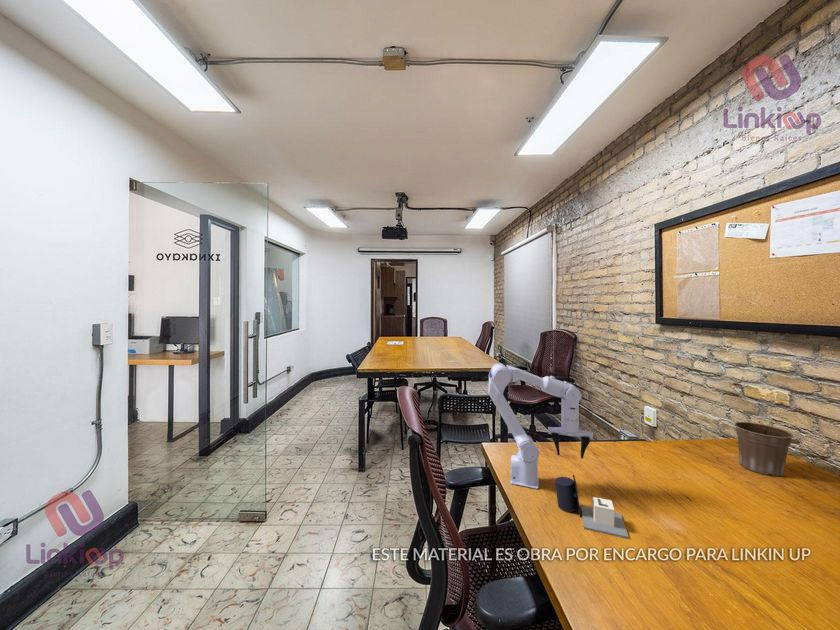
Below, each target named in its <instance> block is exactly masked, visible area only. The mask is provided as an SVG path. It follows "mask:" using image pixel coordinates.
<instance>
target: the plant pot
mask: <svg viewBox="0 0 840 630" xmlns="http://www.w3.org/2000/svg"><path fill="white" fill-rule="evenodd" d="M734 427H735V430H736V431H735V433H736V436H737V445H738V455H739V456H738V457H739V458H738V459H739V460H738V461H739V465H741V466H742V467H743V468H745V469H747V470H748V471H751V472H754V473H757V474H761V475H765V476H769V475H771V476H773V477H781V476H784V473H785V467H786V462H787V458H788V457H787V456H788V451H789V448H790V446H791V444H792V443H791V442H792V439H793V438H794V436H795V435H794V434H793V433H791V432H790V431H787V430H785V429H781V428H779V427H775V426H772V425H767V424H761V423H755V422H748V421H747V422H744V421H739V422H738V421H737V422H734Z"/></svg>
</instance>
